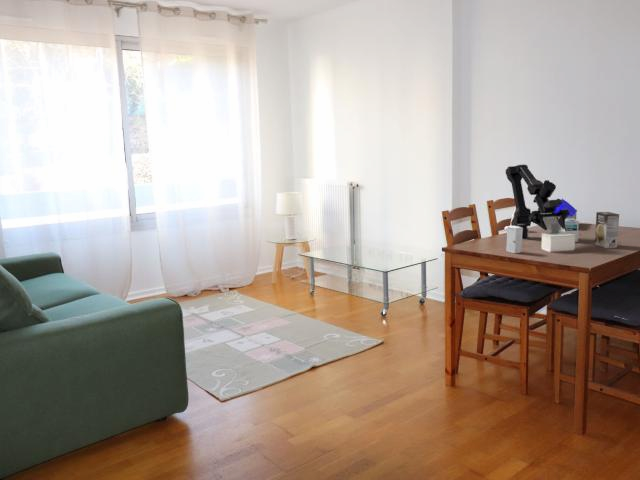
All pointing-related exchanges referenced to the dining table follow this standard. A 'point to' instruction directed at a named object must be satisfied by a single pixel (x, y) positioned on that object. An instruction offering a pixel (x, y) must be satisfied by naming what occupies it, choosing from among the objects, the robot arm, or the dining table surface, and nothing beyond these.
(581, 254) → the dining table surface
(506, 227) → the seated beast figurine
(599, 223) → the coffee box
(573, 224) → the light bulb box
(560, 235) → the carton lid
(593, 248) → the dining table surface
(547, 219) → the house
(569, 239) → the carton
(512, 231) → the skincare box
